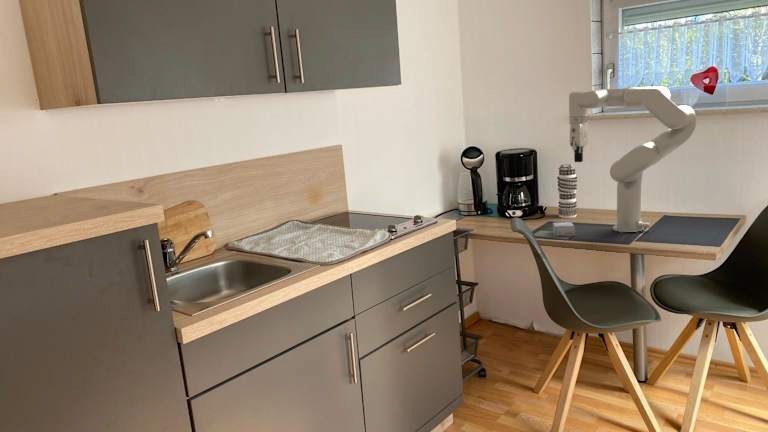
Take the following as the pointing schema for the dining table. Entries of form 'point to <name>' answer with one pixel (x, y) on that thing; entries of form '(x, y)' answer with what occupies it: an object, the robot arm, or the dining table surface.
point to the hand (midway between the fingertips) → (578, 161)
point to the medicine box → (563, 229)
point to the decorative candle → (567, 191)
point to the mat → (550, 235)
